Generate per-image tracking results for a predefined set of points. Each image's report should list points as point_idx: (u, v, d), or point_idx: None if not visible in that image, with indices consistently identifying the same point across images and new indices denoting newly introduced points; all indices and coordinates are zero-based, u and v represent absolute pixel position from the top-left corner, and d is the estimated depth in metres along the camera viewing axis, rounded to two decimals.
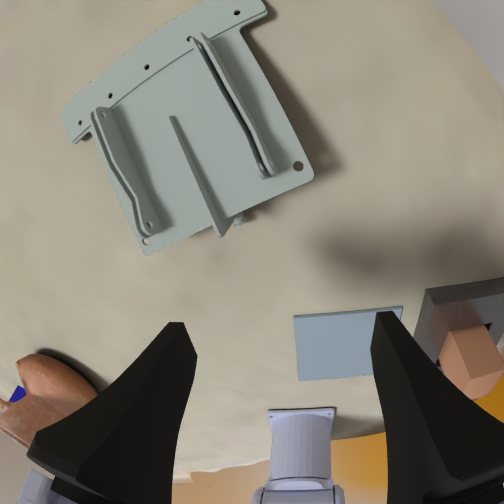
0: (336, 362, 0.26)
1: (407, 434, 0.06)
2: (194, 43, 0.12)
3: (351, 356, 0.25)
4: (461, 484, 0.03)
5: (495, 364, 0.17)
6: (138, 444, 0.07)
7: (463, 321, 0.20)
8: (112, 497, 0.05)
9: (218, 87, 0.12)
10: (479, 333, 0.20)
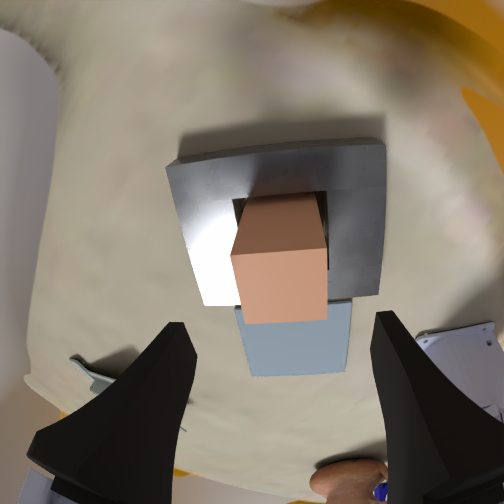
0: (316, 350, 0.25)
1: (406, 435, 0.06)
2: (93, 392, 0.31)
3: (307, 340, 0.24)
4: (461, 484, 0.03)
5: None
6: (138, 444, 0.07)
7: (229, 259, 0.19)
8: (112, 497, 0.05)
9: None
10: None
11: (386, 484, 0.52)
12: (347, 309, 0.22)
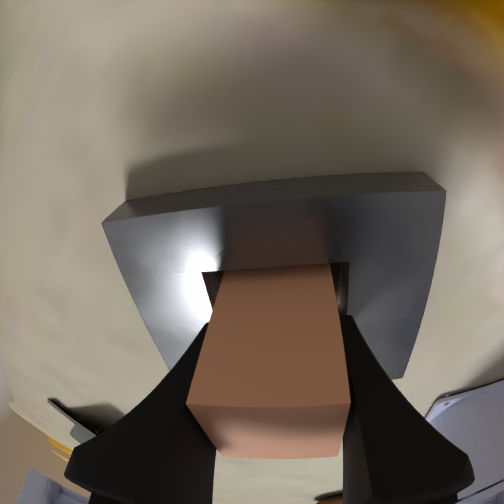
0: None
1: (352, 443, 0.06)
2: None
3: None
4: None
5: None
6: (187, 453, 0.07)
7: None
8: None
9: None
10: None
11: None
12: None
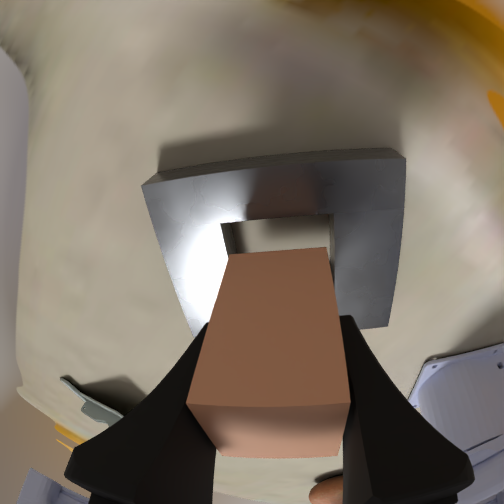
0: None
1: (352, 443, 0.06)
2: (85, 414, 0.28)
3: None
4: None
5: None
6: (187, 453, 0.07)
7: None
8: None
9: (95, 420, 0.27)
10: None
11: None
12: None
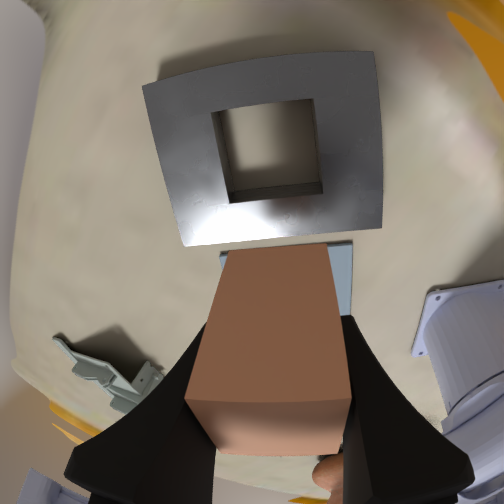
0: None
1: (352, 443, 0.06)
2: (75, 374, 0.29)
3: None
4: None
5: None
6: (186, 453, 0.07)
7: (208, 184, 0.16)
8: None
9: (86, 379, 0.27)
10: None
11: None
12: (347, 253, 0.20)
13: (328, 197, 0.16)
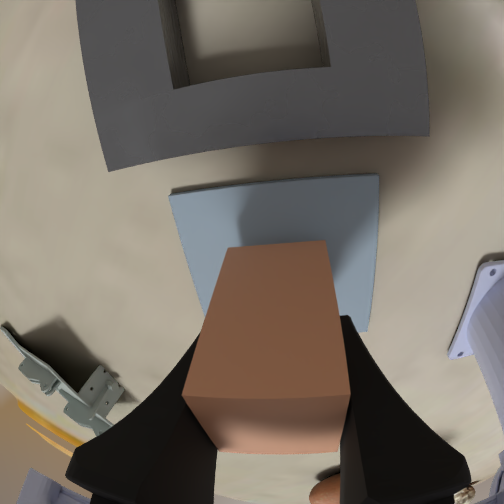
0: None
1: (348, 444, 0.06)
2: None
3: None
4: None
5: None
6: (188, 453, 0.07)
7: (143, 63, 0.08)
8: None
9: (30, 380, 0.20)
10: None
11: None
12: (372, 190, 0.12)
13: (340, 73, 0.08)
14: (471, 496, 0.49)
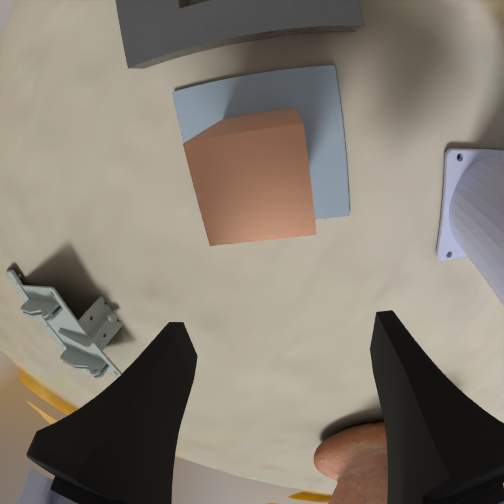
0: None
1: (407, 434, 0.06)
2: (23, 312, 0.23)
3: None
4: (461, 484, 0.03)
5: None
6: (138, 444, 0.07)
7: None
8: (112, 497, 0.05)
9: (32, 315, 0.22)
10: None
11: None
12: (331, 76, 0.14)
13: None
14: None
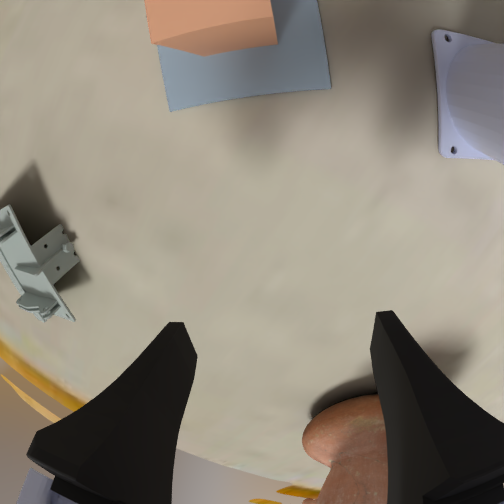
0: None
1: (407, 434, 0.06)
2: None
3: None
4: (461, 484, 0.03)
5: None
6: (138, 444, 0.07)
7: None
8: (112, 497, 0.05)
9: None
10: None
11: None
12: None
13: None
14: None
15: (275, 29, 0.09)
